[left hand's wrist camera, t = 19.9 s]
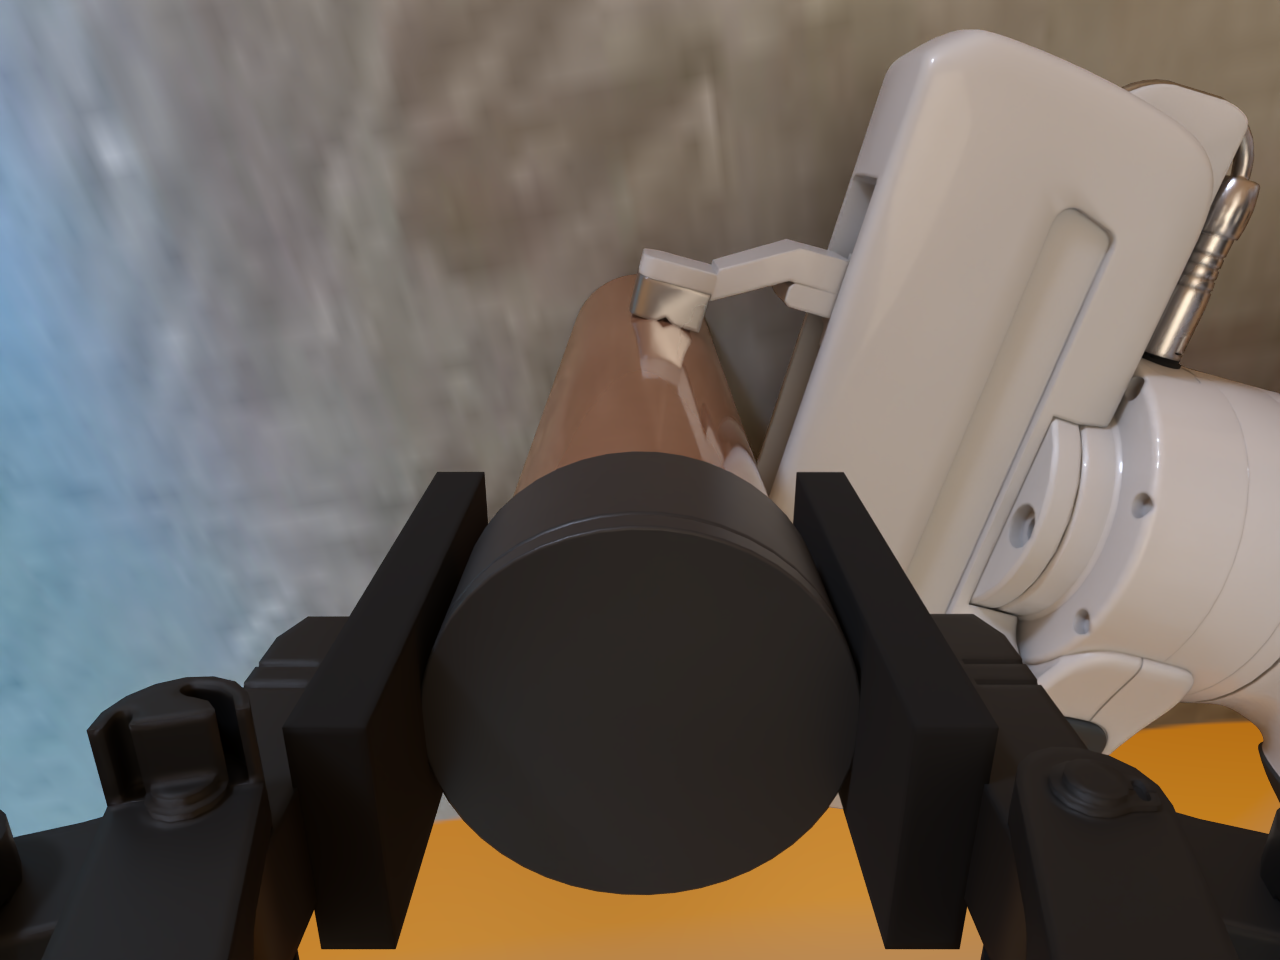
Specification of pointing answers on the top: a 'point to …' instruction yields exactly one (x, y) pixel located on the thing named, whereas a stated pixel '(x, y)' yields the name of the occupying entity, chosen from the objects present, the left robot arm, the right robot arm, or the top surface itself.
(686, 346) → the brown cylinder
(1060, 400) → the right robot arm
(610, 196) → the top surface
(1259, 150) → the top surface
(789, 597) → the lid
